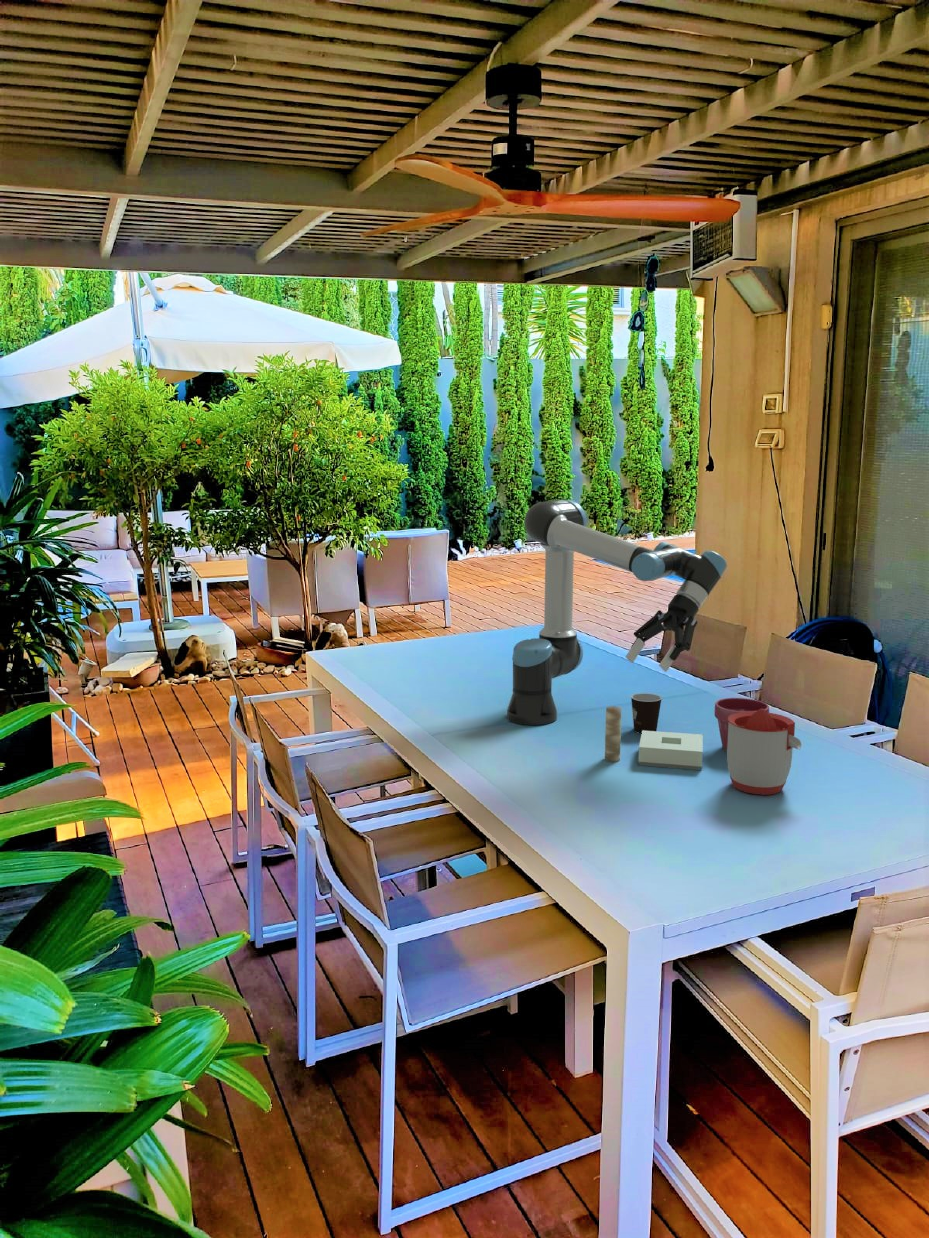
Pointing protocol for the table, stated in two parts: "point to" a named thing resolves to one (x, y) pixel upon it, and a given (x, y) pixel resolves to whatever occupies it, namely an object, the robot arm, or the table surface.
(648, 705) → the coffee mug
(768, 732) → the citrus juicer
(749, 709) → the plant pot
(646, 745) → the socket block
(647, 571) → the robot arm
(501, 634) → the table surface
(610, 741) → the dowel
